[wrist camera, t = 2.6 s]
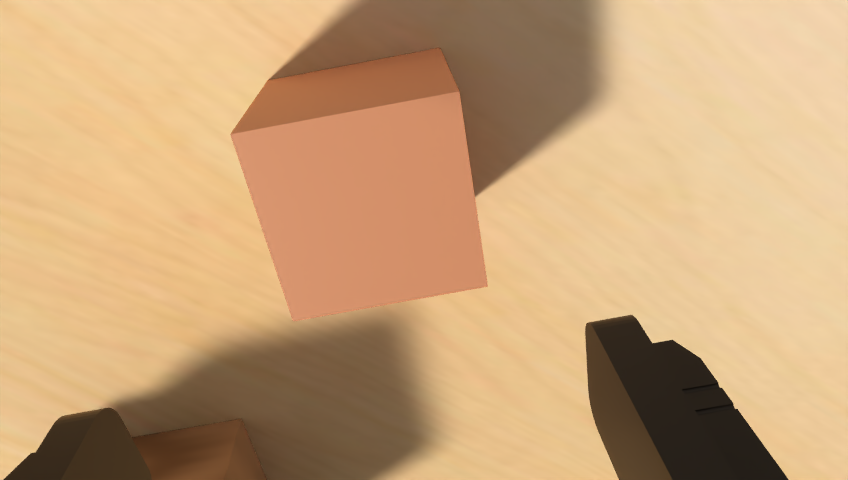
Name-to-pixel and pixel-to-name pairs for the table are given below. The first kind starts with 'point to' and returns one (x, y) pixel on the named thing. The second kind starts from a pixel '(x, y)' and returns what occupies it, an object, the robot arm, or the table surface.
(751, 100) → the table surface
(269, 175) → the terracotta cube
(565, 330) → the table surface
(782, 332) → the table surface
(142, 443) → the tower base
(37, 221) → the table surface
